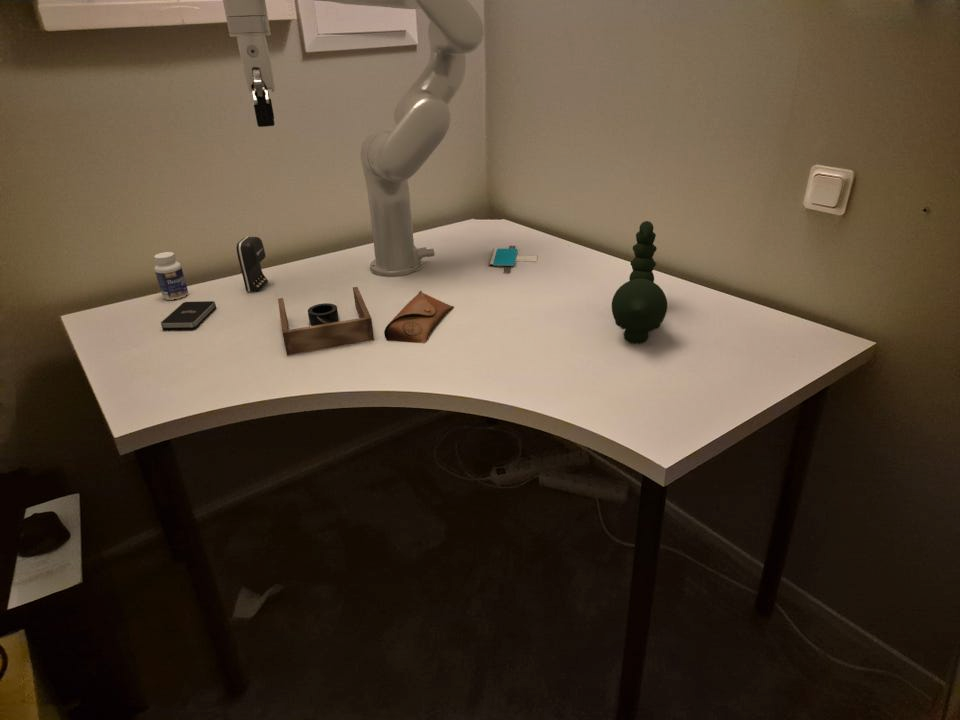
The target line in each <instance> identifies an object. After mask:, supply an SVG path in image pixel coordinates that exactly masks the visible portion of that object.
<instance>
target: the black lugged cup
mask: <svg viewBox="0 0 960 720" xmlns="http://www.w3.org/2000/svg"><path fill="white" fill-rule="evenodd" d="M307 315H308V321H309V325H310V326H315V325H321V324H327V323H333V322H340V317H339V311H338V306H337V305H336V304H333V303H330V302H329V303H319V304H315V305H314V304H313V305H312V306H310V307H309V308H308V309H307Z"/></svg>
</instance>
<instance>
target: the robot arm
mask: <svg viewBox="0 0 960 720" xmlns="http://www.w3.org/2000/svg"><path fill="white" fill-rule="evenodd" d="M315 1H319V2H330V3H337V4H343V5H353V6H367V7H380V8H392V9H402V10H403V9H404V10H421V11H422V12H423V13H424V15H425V16H426V18H428V20H429V22H428V27H427V37H428V43H429V49H430V52H429V59H428V62H427V64H426V66H425V67H424V69H423V70H422V72H421V73H420V75H419V76H418V77H417V79H416V80H415V81H414V82H413V83H412V84H411V86H410V87H409V89H408V90H407V91H406V92H405V93H404V95H403V96H402V97H401V98H400V99H399V100H398V102H397V103H396V106H395V108H394V111H393V120H394V122H395V125H396V126H394V128H393V129H392V130H388V129H382V128H381V129H376V130H373V131H371V132H369V133H368V134H367V135H366V136H365V137H364V139H363V141H362V143H361V146H360V161H361V166H362V171H363V176H364V179H365V184H366V190H367V191H366V192H367V198H368V199H367V200H368V207H369V215H370V216H369V217H370V223H371V224H370V226H371V233H372V242H373V248H374V256H375V257H374V258H375V259H373V260H372V261H371V262H370V263H369V270H370V271H371V272H372V273H373V274H376V275H380V276H386V277H387V276H389V277H390V276H391V277H394V276H395V277H398V276H405V275H408V274H411V273H415V272H416V271H418V270H420V269H421V268H422V267H423V260H422V259H423V258H430V257H432V258H433V257H435V249H434V248H432V247H431V248H428V247H427V246H425V247H419V248H418V247H416V246H415V242H414V240H415V239H414V229H413V220H412V219H413V218H412V217H413V216H412V207H411V205H412V204H411V196H410V194H411V193H410V186H409V181H408V180H409V179H410V178H412V177H413V176H414V175H415V174H416V173H417V172H418V171H419V170H420V169H421V167H422V166H423V165H424V164H425V162H426V161H427V160H428V159H429V158H430V157H431V155H432V154H433V153H434V151H436V149H437V148H438V146H440V144H441V142H442V141H443V139H444V138H445V137H446V135H447V133H448V132H449V129H450V125H451V112H450V108H449V107H448V106H449V105H450V103H451V101H452V100H453V99H454V97H455V96H456V95H457V93H458V91H460V89H461V86H462V85H463V83H464V82H463V81H464V78H465V73H466V65H467V64H466V58H467V57H466V55H467V54H471V53H473V52H474V51H476V50H477V49H478V48H479V47H480V46H481V44H482V41H483V39H484V34H485V33H484V32H485V30H484V23H483V20H482V18H481V15H480V14H479V13H478V11H477V10H476V8H475V7H474V5H472V3H471V2H470V1H469V0H314V2H315ZM222 4H223V9H224V13H225V14H224V15H225V19H226V24H227V28H228V32H229V37H230V38H233V37H236V41H237V45H238V52H239V55H240V60H241V65H242V70H243V73H244V78H245V81H246V84H247V88H248V91H249V93H251V94H252V95H253V96H252V97H253V102H254V104H253V108H254V114H255V119H256V124H257V126H258V128H266V127H274V126H275V116H274V115H275V114H274V109H273V102H272V99H271V98H270V93H269V90H271V93H275V90H276V86H275V79H274V74H273V73H274V72H273V68H272V63H271V56H270V51H269V47H268V41H267V38H266V36H271V35H272V33H271V28H270V22H269V17H268V11H267V3H266V0H222Z"/></svg>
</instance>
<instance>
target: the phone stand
mask: <svg viewBox="0 0 960 720" xmlns="http://www.w3.org/2000/svg"><path fill="white" fill-rule="evenodd" d="M517 254H518V248H516V245H509V246H508V248H497V249H494V248H493V249H492V251H491V253H490V255H491V257H490V259H489V262H488V266H489V267H491V265H493V267H494V268H500V269H502V268H503V272H502V273H503V274H511V270H512V266H515V265H516V262H517V263H519V262H521V263H522V262H524V263H529V262H530V263H536V262H537V261H538V256H537V255H517Z"/></svg>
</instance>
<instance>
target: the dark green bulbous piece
mask: <svg viewBox="0 0 960 720" xmlns="http://www.w3.org/2000/svg"><path fill="white" fill-rule="evenodd" d="M656 237H657V235H656V233H655V232H654V224H653V222H651V221H649V220H645V221H642V222H641V223H640V225H639V230H638V231H637V232H636V233H635V239H636V243H635V244H634V245H633V246H632V250H633V254H634V256H635V257H633V259H632V260H631V261H630V266H631V268H632V271H631V272H630V274H629V278H628V280H629V281H626V282H625V283H623V284H622V285H620V286H619V288H617V290H616V292H615V293H614V295H613V298H612V300H611V312H612V317H613V319H614V322H615V325H616V326H618V327H621V328H622V329H623V330H624V331H623V338H624V340H625V341H626V342H628V343H630V344H639V345H640V344H645V343H646V342H647V341H648V340H649V337H650V331H654V330H657V329H659V328H660V327H661V324H662V323H663V321H664V319H665V317H666V315H667V312H668V299H667V296H666V293H665V292H664V290H663V289H662V288H661V287H660V286H659V285H658V284H657V283H655V275H654V273H653V271H654V268H656V266H657V263H656V261H655V259H654V258H653V257H654V255H655V252H656V251H657V249H658V248H657V246H656V245H655V244H654V243H655V240H656Z"/></svg>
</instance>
